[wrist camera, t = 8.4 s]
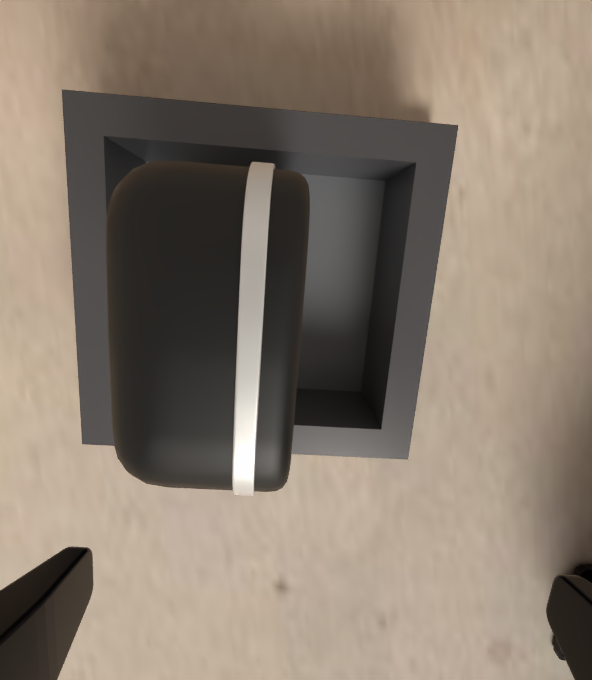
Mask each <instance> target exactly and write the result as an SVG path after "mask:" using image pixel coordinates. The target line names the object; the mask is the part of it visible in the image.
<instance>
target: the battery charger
mask: <svg viewBox="0 0 592 680" xmlns="http://www.w3.org/2000/svg"><path fill="white" fill-rule="evenodd" d="M309 220H310V194H309V185H308V182H307V180H306V178H305V177H304V176H302V175H301V174H299V173H298V172H294V171H289V170H280V169H275V164H274V163H263V162H252V163H251V165H250V167H245V166H233V165H222V164H210V163H199V162H187V161H151V162H148V163H146V164H144V165H141V166H139V167H136V168H134V169H132V170H131V171H130V172H129V173H128V174H127V175H126V176H125V177H124V178H123V179H122V180H121V182H120V183H119V184H118V185H117V186H116V187H115V189H114V191H113V194H112V197H111V200H110V203H109V208H108V214H107V222H106V273H107V312H108V346H109V368H110V391H111V413H112V429H113V437H114V445H115V449H116V453H117V457H118V459H119V460H120V462H121V463H122V465H123V466H124V468H125V469H126V471H128V472H129V473H130V474H131V475H133V476H134V477H136V478H138V479H139V480H141V481H143V482H145V483H146V484H152V485H158V486H164V487H173V488H195V489H217V490H233V494H234V495H248V496H254V494H255V491H261V492H270V491H277V490H279V489H281V488H283V486H284V485H285V483H286V482H287V479H288V475H289V470H290V462H291V452H292V441H293V429H294V417H295V405H296V393H297V380H298V368H299V356H300V343H301V330H302V318H303V305H304V292H305V279H306V266H307V253H308V239H309Z"/></svg>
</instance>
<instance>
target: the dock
mask: <svg viewBox="0 0 592 680" xmlns="http://www.w3.org/2000/svg"><path fill="white" fill-rule="evenodd" d="M62 99H63V117H64V134H65V152H66V169H67V186H68V204H69V221H70V239H71V256H72V274H73V291H74V308H75V326H76V343H77V361H78V378H79V395H80V413H81V430H82V444H91V445H112V446H115V445H114V437H113V429H112V413H111V391H110V368H109V346H108V312H107V273H106V222H107V214H108V208H109V203H110V200H111V197H112V194H113V191H114V189H115V187H116V186H117V185H118V184H119V183H120V182H121V180H122V179H123V178H124V177H125V176H126V175H127V174H128V173H129V172H130V171H131V170H132V169H134V168H136V167H139V166H141V165H144V164H146V163H148V162H151V161H187V162H199V163H210V164H222V165H233V166H245V167H250V165H251V163H252V162H263V163H274V164H275V169H280V170H289V171H294V172H298V173H299V174H301V175H302V176H304V177H305V178H306V180H307V182H308V185H309V194H310V220H309V239H308V253H307V266H306V279H305V292H304V305H303V318H302V330H301V343H300V356H299V368H298V380H297V393H296V405H295V417H294V429H293V441H292V452H291V454H304V455H325V456H346V457H368V458H389V459H408V456H409V449H410V442H411V436H412V429H413V422H414V416H415V409H416V403H417V396H418V389H419V383H420V376H421V369H422V363H423V356H424V350H425V343H426V336H427V330H428V323H429V316H430V310H431V303H432V297H433V290H434V283H435V277H436V270H437V263H438V257H439V250H440V244H441V237H442V230H443V224H444V217H445V210H446V204H447V197H448V190H449V184H450V177H451V171H452V164H453V157H454V151H455V144H456V137H457V131H458V125H449V124H437V123H426V122H415V121H404V120H393V119H382V118H371V117H360V116H349V115H338V114H327V113H316V112H305V111H294V110H282V109H271V108H260V107H249V106H238V105H227V104H216V103H205V102H194V101H183V100H172V99H161V98H150V97H139V96H127V95H116V94H105V93H94V92H83V91H72V90H62Z"/></svg>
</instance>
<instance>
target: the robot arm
mask: <svg viewBox="0 0 592 680" xmlns="http://www.w3.org/2000/svg"><path fill="white" fill-rule="evenodd" d="M92 590H93V558H92V551H91V549H89V548H87V547H67V548H65V549H63V550H62V551H60V552H59V553H57V554H56V555H54V556H53V557H51V558H50V559H48V560H47V561H45V562H43V563H42V564H40V565H39V566H37V567H36V568H34V569H33V570H31V571H30V572H28V573H27V574H25V575H23V576H22V577H20V578H19V579H17V580H16V581H14V582H13V583H11V584H10V585H8V586H7V587H5V588H3V589H2V590H0V680H57V679H58V676H59V674H60V671H61V669H62V666H63V664H64V662H65V659H66V657H67V654H68V652H69V649H70V647H71V644H72V642H73V640H74V637H75V635H76V632H77V630H78V627H79V625H80V622H81V620H82V618H83V615H84V613H85V610H86V608H87V605H88V603H89V600H90V598H91V594H92ZM546 613H547V619H548V622H549V625H550V627H551V629H552V631H553V633H554V635H555V638H556V640H555V644H554V651H555V653H556V654H557V656H558V657H559V659H561V660H566V662H567V664H568V666H569V668H570V670H571V673H572V675H573V677H574V679H575V680H592V565H590V564H584V565H580V566H578V567H577V568H576V570H575V572H574V575H563V574H561V575H557V576H556V577H555V579H554V581H553V585H552V589H551V592H550V596H549V600H548V603H547V608H546Z"/></svg>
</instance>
